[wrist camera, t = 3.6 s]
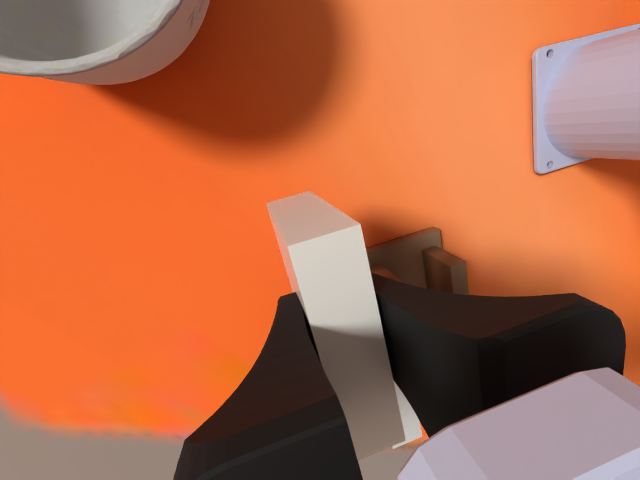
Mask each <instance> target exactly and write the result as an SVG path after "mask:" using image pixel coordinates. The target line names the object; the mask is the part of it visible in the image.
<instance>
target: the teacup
mask: <svg viewBox="0 0 640 480" xmlns="http://www.w3.org/2000/svg"><path fill="white" fill-rule="evenodd" d="M209 2H210V0H0V73H4V74H12V75H21V76H32V77H42V78H47V79H51V80H57V81H63V82H70V83H77V84H88V85H112V84H121V83H127V82H132V81H136V80H139V79H142V78H144V77H147V76H150V75H152V74H154V73H156V72H158V71H160V70H162V69H163V68H165V67H166V66H168V65H169V64H171V63H172V62H173V61H174V60H175V59H177V58H178V57H179V56H180V55H181V54H182V53H183V52H184V51H185V50H186V48H187V47H188V46H189V44H190V43H191V42H192V40H193V39H194V37H195V36H196V34H197V32H198V30H199V28H200V26H201V25H202V23H203V20H204V17H205V15H206V12H207V9H208V6H209Z"/></svg>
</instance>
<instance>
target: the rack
mask: <svg viewBox="0 0 640 480" xmlns="http://www.w3.org/2000/svg"><path fill="white" fill-rule="evenodd" d="M366 252H367V257H368V262H369V267H370V271H371V272H372V273H375V274H378V275H381V276H384V277H387V278H390V279H393V280H396V281H399V282H403V283H406V284H410V285H413V286H418V287H422V288H426V289H430V290H435V291H441V292H448V293H454V294H463V295H469V294H468V283H467V273H466V262H465V261H463V260H461V259H460V258H458V257H456V256H454V255H452V254H450V253H448V252H446V251H444V250H442V244H441V235H440V229H437V228H435V227H431V228H428V229H425V230H421V231H418V232H415V233H412V234H409V235H406V236H403V237H400V238H397V239H394V240H390V241H387V242H384V243H381V244H378V245H375V246H372V247H369V248H366Z"/></svg>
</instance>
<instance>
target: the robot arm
mask: <svg viewBox="0 0 640 480" xmlns="http://www.w3.org/2000/svg"><path fill="white" fill-rule="evenodd" d="M547 52H548V57H547ZM532 89H533V148H534V171H535V172H536V173H538V174H544V173H547V172H551V171H554V170H557V169H560V168H563V167H567V166H570V165H573V164H576V163H579V162H583V161H586V160H589V159H592V158H608V159H627V160H640V23H639V24H635V25H631V26H626V27H622V28H618V29H614V30H610V31H606V32H602V33H597V34H593V35H589V36H585V37H581V38H577V39H573V40H568V41H564V42H560V43H556V44H552V45H548V46H544V47H540V48H537V49H536V50H535V51H534V52H533V55H532ZM547 164H548V166H547ZM371 276H372V281H373V286H374V291H375V295H376V300H377V305H378V310H379V314H380V319H381V324H382V329H383V334H384V338H385V343H386V348H387V353H388V357H389V362H390V367H391V372H392V376H393V381H394V382H395V383H396V385H397V386H398V387H399V389H400V390H401V392H402V393H403V394H404V396H405V397H406V399H407V401H408V402H409V404H410V405H411V407H412V409H413V410H414V412H415V414H416V415H417V417H418V419H419V421H420V422H421V424H422V426H423V428H424V429H425V431H426V433H427V435H428V437H429V438H428V439H427V440H425V441H424V442H422V443H421V444H419V445H418V446H417V448H416V449H415V451H414V452H413V453H412V455H411V456H410V458H409V459H408V461H407V462H406V463H405V465H404V466H403V468H402V469H401V471H400V473H399V475H398V479H397V480H640V386H639V385H637V384H635V383H634V382H632V381H630V380H629V379H627V378H626V377H624V376H623V369H624V359H625V348H626V340H625V331H624V328H623V325H622V322H621V320H620V318H619V317H618V316H617V315H616V314H615V313H614V312H613V311H612V310H610V309H607V308H605V307H603V306H601V305H599V304H597V303H595V302H593V301H590V300H588V299H586V298H584V297H582V296H580V295H578V294H575V293H568V294H555V295H542V296H527V297H491V296H475V295H463V294H454V293H448V292H441V291H435V290H430V289H426V288H422V287H418V286H413V285H410V284H406V283H403V282H399V281H396V280H393V279H390V278H387V277H384V276H381V275H378V274H375V273H372V272H371ZM173 480H363V478H362V475H361V471H360V467H359V464H358V460H357V456H356V453H355V449H354V445H353V442H352V438H351V434H350V430H349V427H348V423H347V420H346V417H345V414H344V412H343V409H342V407H341V404H340V401H339V399H338V396H337V394H336V392H335V391H334V389H333V387H332V385H331V383H330V381H329V379H328V377H327V376H326V374H325V371H324V369H323V367H322V365H321V363H320V361H319V359H318V356H317V354H316V352H315V349H314V345H313V342H312V338H311V335H310V331H309V328H308V325H307V321H306V318H305V314H304V311H303V307H302V304H301V302H300V300H299V298H298V296H297V294H296V292H294V293H291V294H287V295H284V296H281V297H280V298H279V300H278V305H277V311H276V315H275V318H274V321H273V325H272V328H271V330H270V333H269V335H268V338H267V340H266V342H265V345H264V347H263V349H262V351H261V353H260V355H259V357H258V359H257V360H256V362H255V364H254V366H253V367H252V369H251V370H250V371H249V373H248V374H247V376H246V377H245V378H244V380H243V381H242V383H241V384H240V385H239V387H238V388H237V389H236V390H235V391H234V392H233V394H232V395H231V396H230V397H229V398H228V399H227V400H226V402H225V403H224V404H223V405H222V406H221V407H220V408H219V409H218V410H217V411H216V412H215V413H214V414H213V415H212V416H211V417H210V418H209V419H208V420H207V421H205V422H204V423H203V424H202V425H201V426H200V427H199V428H198V429H197V430H196V431H195V432H193V433H192V434H191V435H190V436H189V437H188V438H187V439H185V441H184V444H183V448H182V451H181V455H180V458H179V461H178V464H177V467H176V472H175V475H174V479H173Z"/></svg>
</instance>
